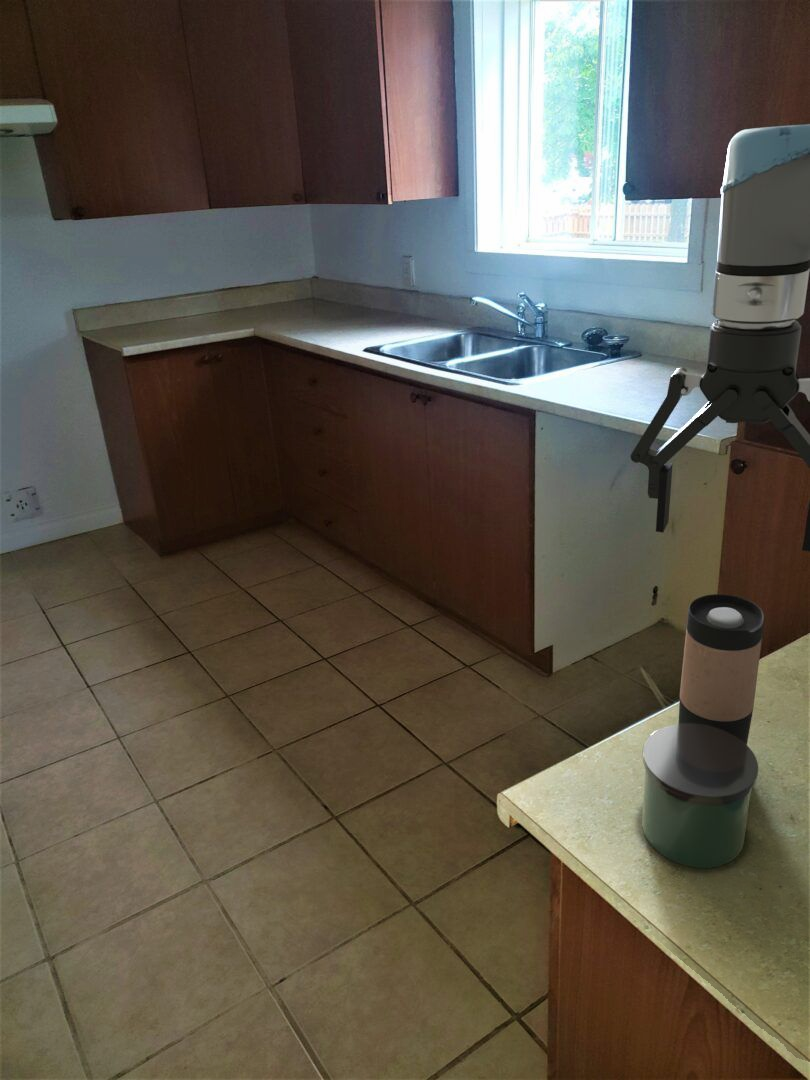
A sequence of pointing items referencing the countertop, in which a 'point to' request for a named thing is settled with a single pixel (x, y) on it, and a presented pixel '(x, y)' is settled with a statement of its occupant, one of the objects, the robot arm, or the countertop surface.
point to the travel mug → (721, 663)
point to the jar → (697, 793)
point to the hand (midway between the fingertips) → (731, 535)
